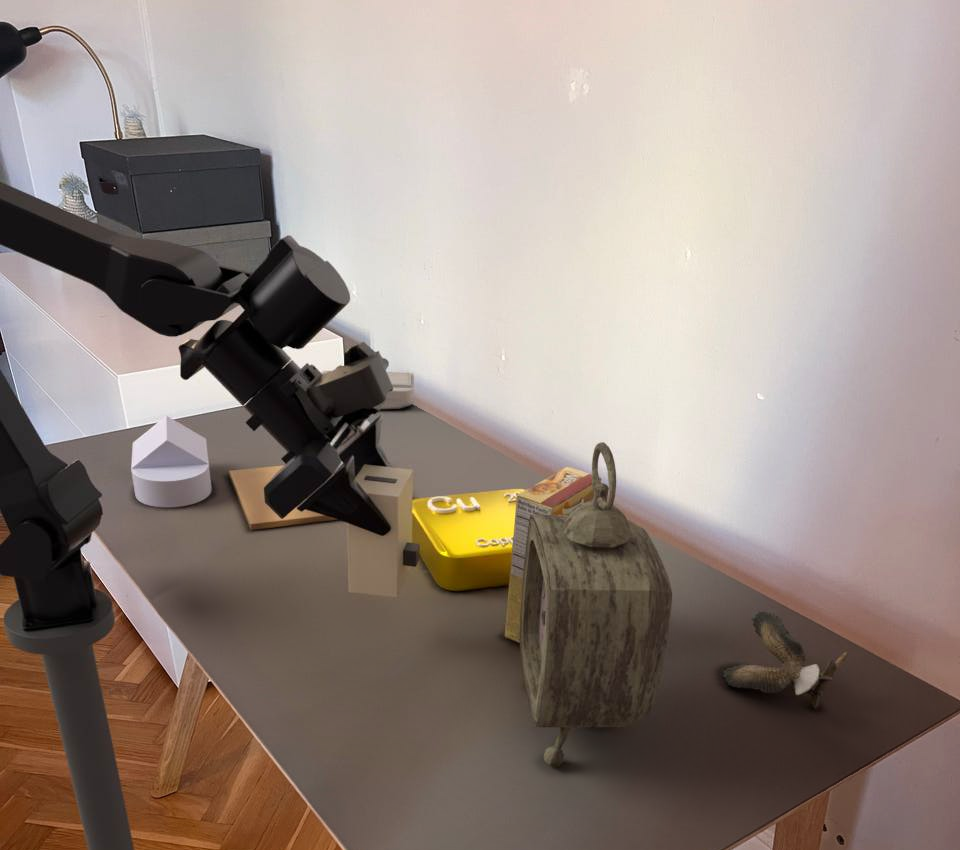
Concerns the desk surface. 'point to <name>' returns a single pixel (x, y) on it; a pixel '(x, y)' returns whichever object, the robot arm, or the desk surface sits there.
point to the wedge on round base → (170, 466)
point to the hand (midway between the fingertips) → (395, 517)
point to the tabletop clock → (592, 616)
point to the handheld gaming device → (398, 390)
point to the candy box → (541, 499)
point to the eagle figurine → (791, 659)
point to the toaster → (388, 557)
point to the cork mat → (253, 501)
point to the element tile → (466, 537)
